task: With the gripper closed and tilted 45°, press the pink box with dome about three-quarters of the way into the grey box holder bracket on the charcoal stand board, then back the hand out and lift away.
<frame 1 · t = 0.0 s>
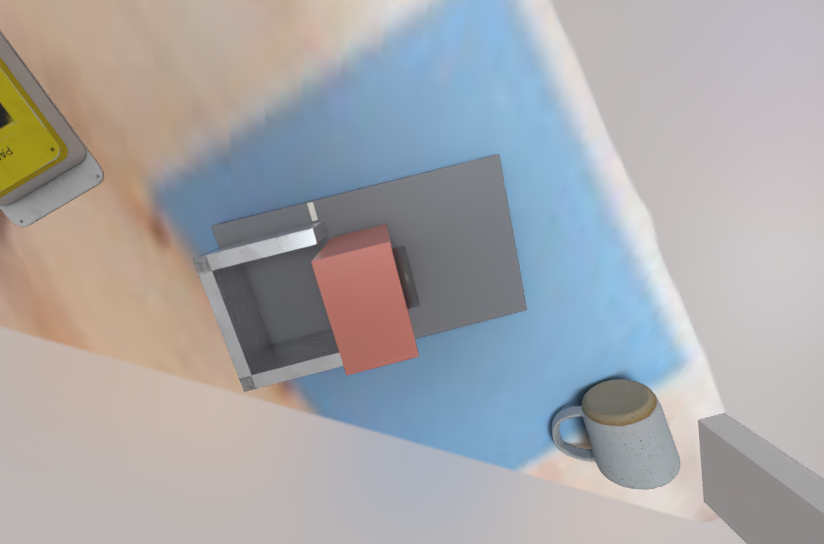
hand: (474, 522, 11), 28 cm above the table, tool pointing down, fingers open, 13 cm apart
ceramic mug: (594, 414, 43), on the table
pink box with dome: (375, 287, 30), point 7 cm above the table, slide at 8.0 cm
grey box holder bracket: (286, 301, 33), on the stand board, point 4 cm above the table
emergency button: (10, 125, 33), on the table
stand board: (378, 266, 37), on the table
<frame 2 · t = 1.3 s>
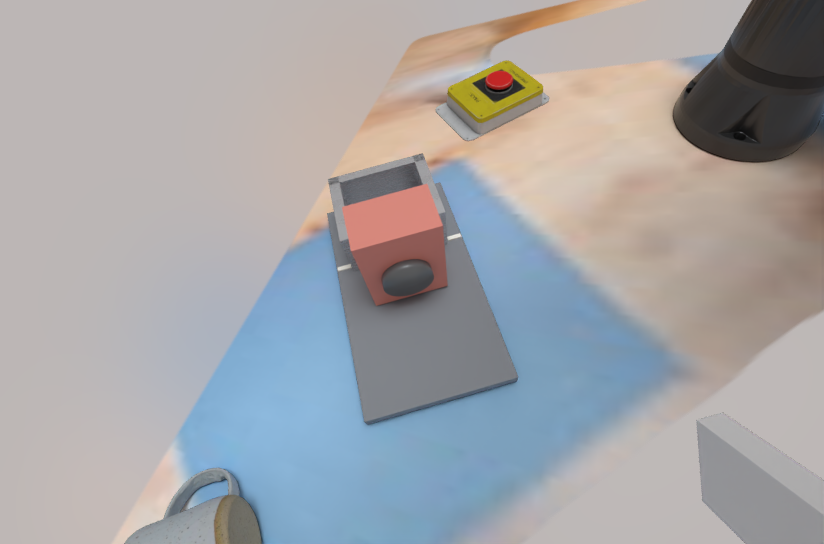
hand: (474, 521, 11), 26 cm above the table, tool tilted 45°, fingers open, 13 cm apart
ceramic mug: (216, 537, 34), on the table
pink box with dome: (400, 254, 38), point 7 cm above the table, slide at 8.0 cm
grey box holder bracket: (388, 212, 44), on the stand board, point 4 cm above the table
emergency button: (491, 108, 59), on the table
stand board: (410, 289, 44), on the table
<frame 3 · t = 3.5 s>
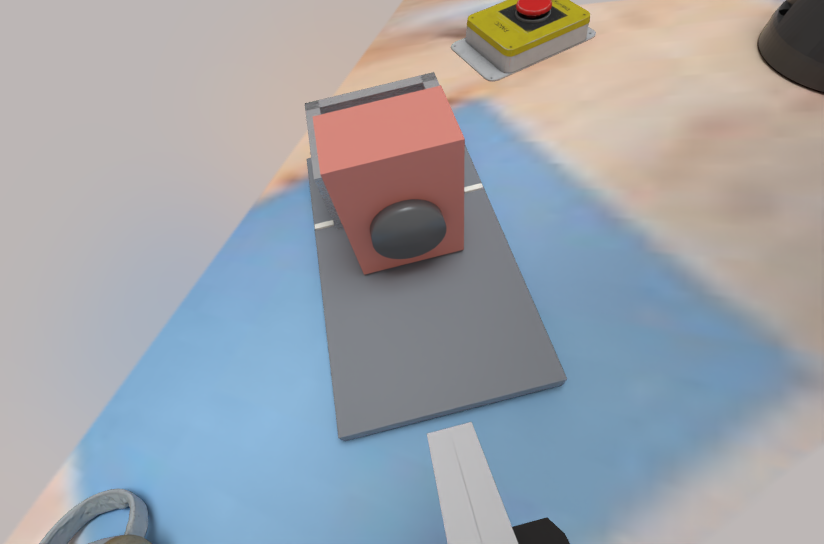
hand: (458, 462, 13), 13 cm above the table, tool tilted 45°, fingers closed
pink box with dome: (399, 196, 27), point 7 cm above the table, slide at 8.0 cm
grey box holder bracket: (385, 151, 33), on the stand board, point 4 cm above the table
emergency button: (521, 46, 47), on the table
stand board: (411, 255, 33), on the table
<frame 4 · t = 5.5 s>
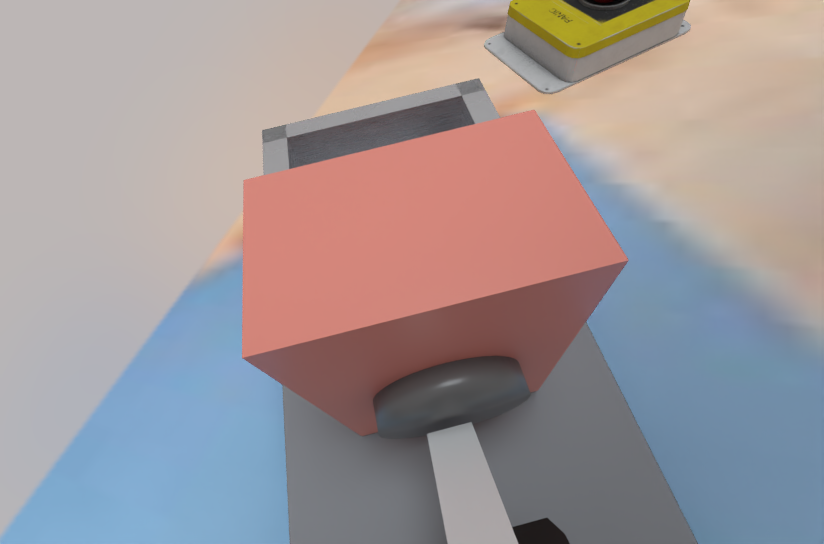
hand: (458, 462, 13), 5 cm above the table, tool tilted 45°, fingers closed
pink box with dome: (430, 324, 13), point 7 cm above the table, slide at 7.9 cm, touching gripper
grey box holder bracket: (397, 209, 20), on the stand board, point 4 cm above the table
emergency button: (581, 44, 34), on the table
stand board: (441, 385, 19), on the table
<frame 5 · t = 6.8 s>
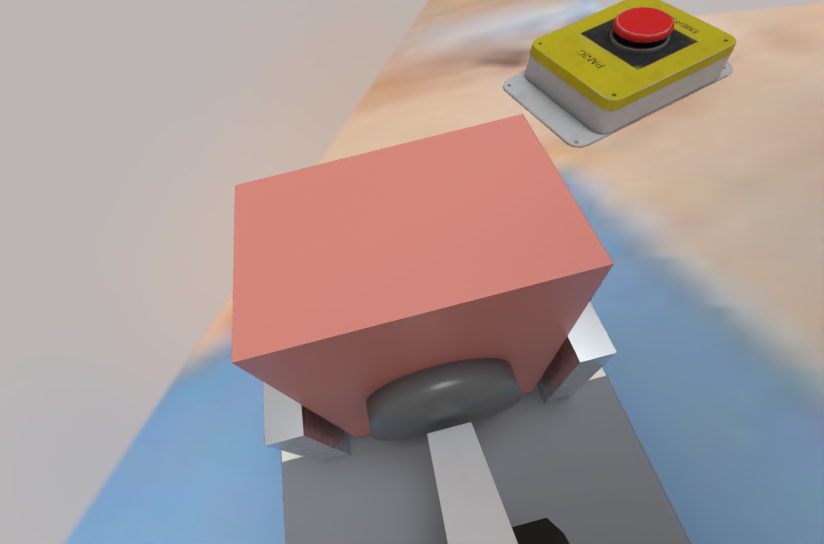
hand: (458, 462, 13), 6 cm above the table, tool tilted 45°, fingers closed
pink box with dome: (423, 326, 14), point 7 cm above the table, slide at 2.1 cm, touching gripper
grey box holder bracket: (418, 311, 17), on the stand board, point 4 cm above the table
emergency button: (610, 86, 31), on the table
stand board: (472, 520, 17), on the table
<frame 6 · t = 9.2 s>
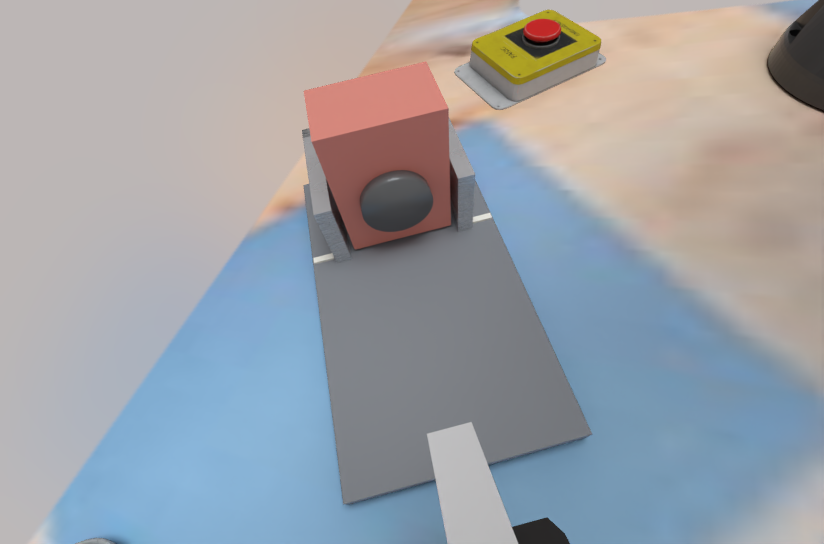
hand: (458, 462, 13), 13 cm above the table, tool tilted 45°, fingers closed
pink box with dome: (387, 170, 28), point 7 cm above the table, slide at 2.1 cm
grey box holder bracket: (388, 179, 31), on the stand board, point 4 cm above the table
emergency button: (527, 72, 45), on the table
stand board: (417, 291, 31), on the table
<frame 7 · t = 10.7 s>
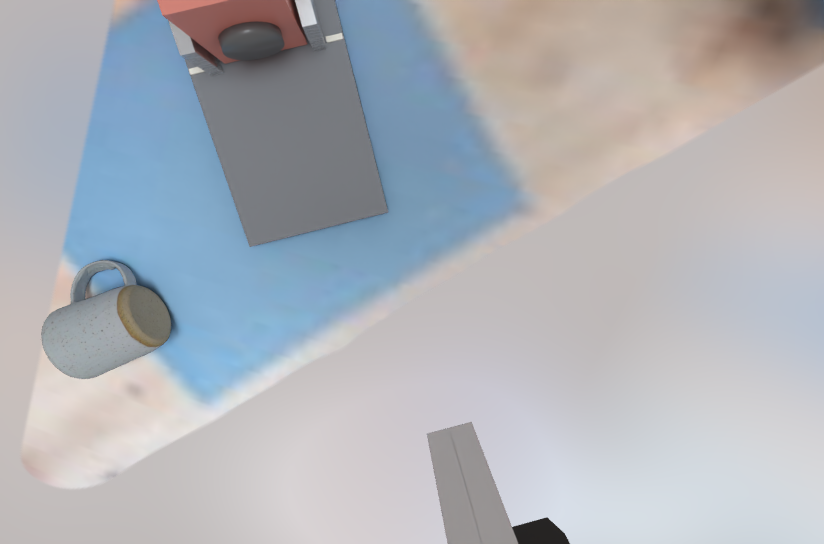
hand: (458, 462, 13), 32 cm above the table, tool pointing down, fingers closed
ceramic mug: (127, 306, 43), on the table
pink box with dome: (239, 5, 31), point 7 cm above the table, slide at 2.1 cm
stand board: (284, 103, 39), on the table
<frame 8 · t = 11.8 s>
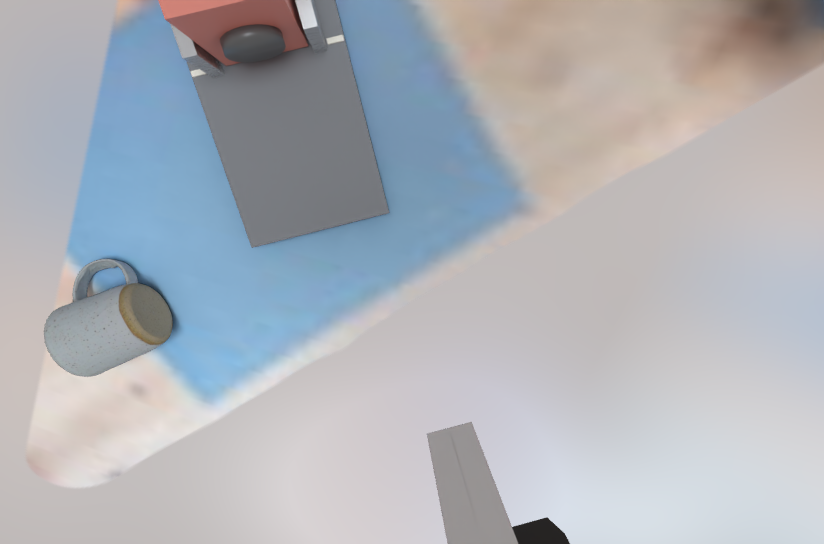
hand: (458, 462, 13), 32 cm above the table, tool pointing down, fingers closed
ceramic mug: (129, 304, 43), on the table
pink box with dome: (240, 7, 31), point 7 cm above the table, slide at 2.1 cm
stand board: (285, 105, 40), on the table
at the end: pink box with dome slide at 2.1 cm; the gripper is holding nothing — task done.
